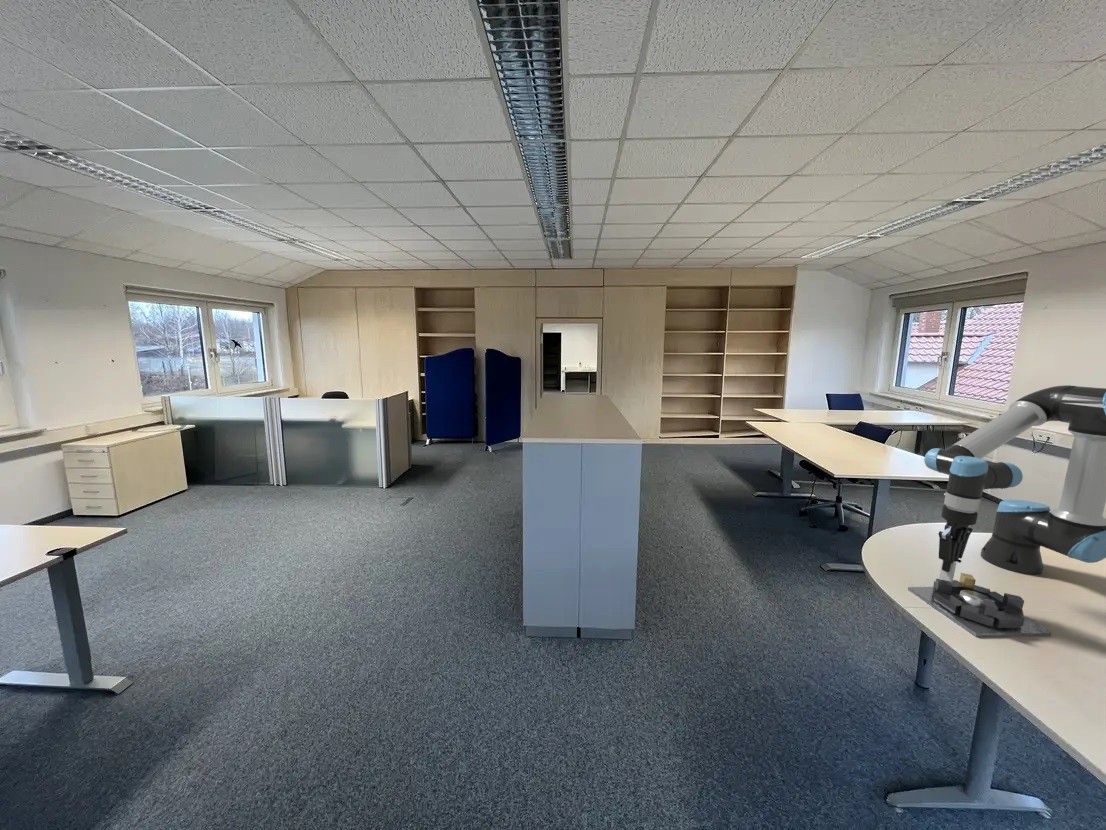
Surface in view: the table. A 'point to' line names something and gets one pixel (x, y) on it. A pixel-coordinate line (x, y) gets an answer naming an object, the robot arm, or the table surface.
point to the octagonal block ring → (987, 610)
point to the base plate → (973, 626)
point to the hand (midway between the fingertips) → (945, 579)
